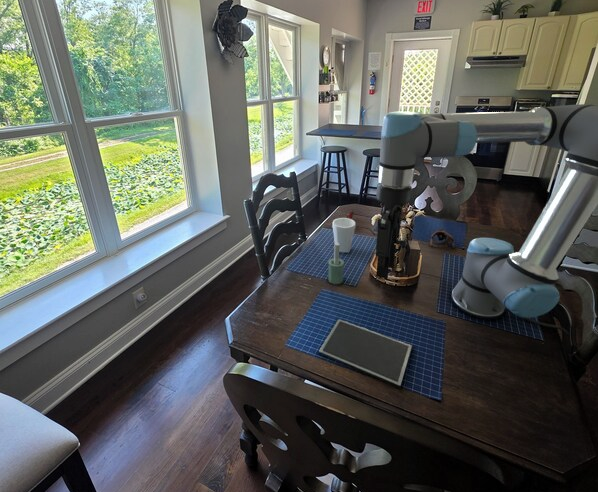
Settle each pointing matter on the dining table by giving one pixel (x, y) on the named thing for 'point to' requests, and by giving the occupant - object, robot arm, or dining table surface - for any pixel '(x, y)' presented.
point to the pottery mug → (441, 237)
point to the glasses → (360, 215)
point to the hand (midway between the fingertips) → (385, 271)
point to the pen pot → (336, 272)
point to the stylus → (336, 254)
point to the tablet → (367, 352)
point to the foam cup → (343, 233)
